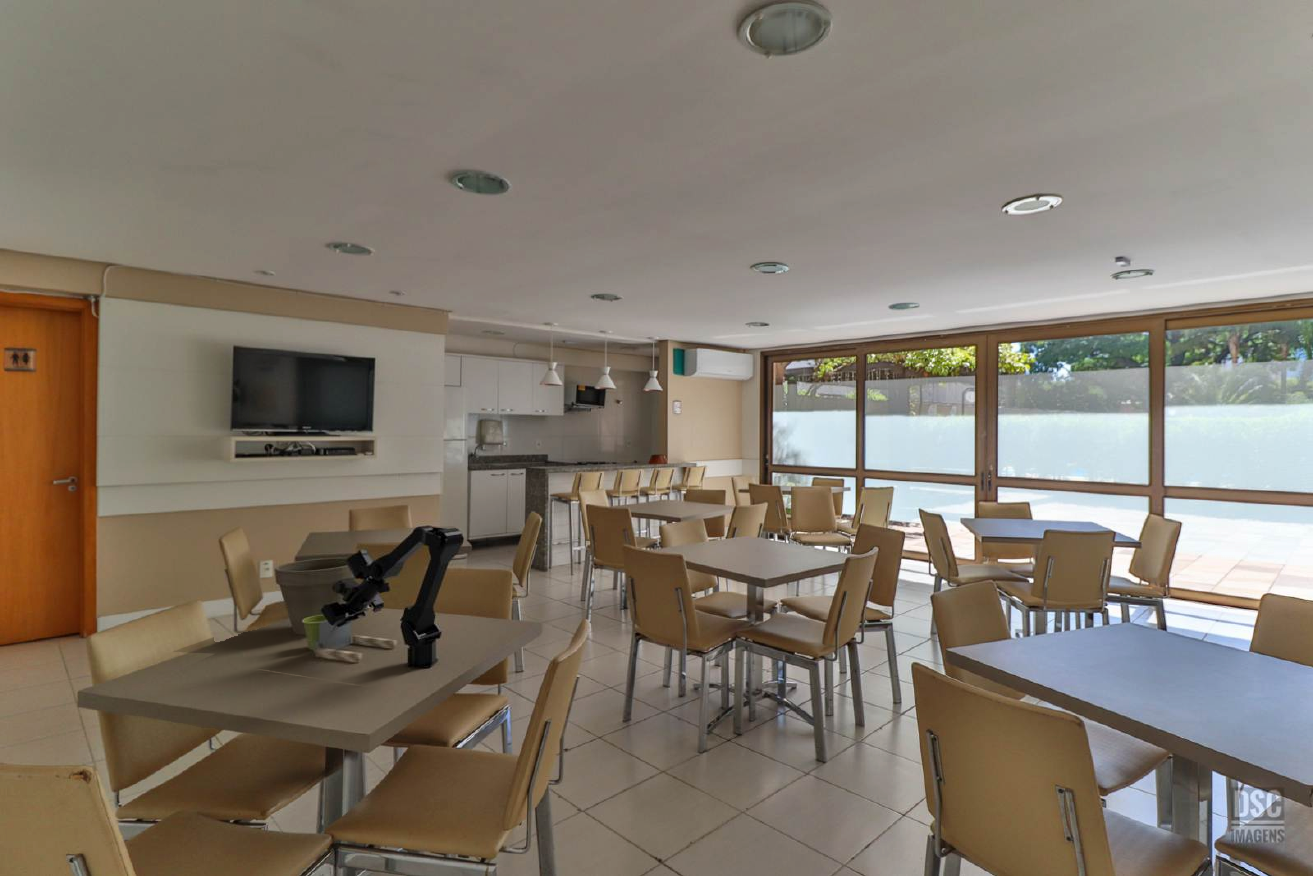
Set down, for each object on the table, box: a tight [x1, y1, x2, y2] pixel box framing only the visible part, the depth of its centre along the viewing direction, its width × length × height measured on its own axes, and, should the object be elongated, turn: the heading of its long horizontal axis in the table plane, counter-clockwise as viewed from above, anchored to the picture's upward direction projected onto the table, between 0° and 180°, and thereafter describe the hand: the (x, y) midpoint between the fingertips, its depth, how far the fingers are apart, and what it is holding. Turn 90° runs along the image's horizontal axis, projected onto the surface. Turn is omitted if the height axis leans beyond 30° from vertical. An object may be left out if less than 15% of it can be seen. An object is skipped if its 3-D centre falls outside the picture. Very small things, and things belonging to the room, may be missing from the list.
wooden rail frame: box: [315, 634, 398, 663], centre depth 190 cm, size 16×14×2 cm
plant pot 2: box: [302, 615, 327, 651], centre depth 196 cm, size 9×9×9 cm
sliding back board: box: [313, 620, 352, 654], centre depth 194 cm, size 4×10×9 cm, turn 159°
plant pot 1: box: [274, 557, 357, 636], centre depth 216 cm, size 25×25×22 cm
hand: (338, 625), depth 193 cm, fingers closed, pressing on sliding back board
